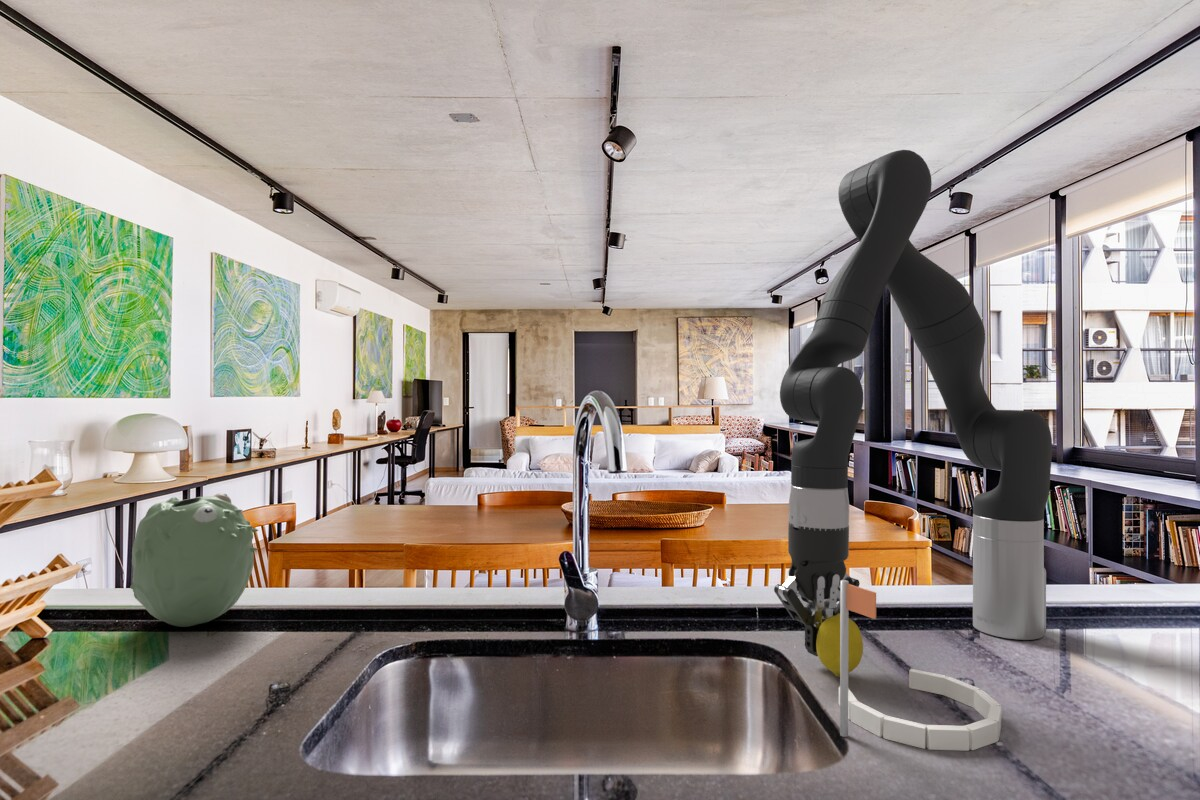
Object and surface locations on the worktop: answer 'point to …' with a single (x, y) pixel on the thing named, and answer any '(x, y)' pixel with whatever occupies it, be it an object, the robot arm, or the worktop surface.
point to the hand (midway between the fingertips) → (816, 653)
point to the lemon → (838, 644)
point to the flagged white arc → (920, 680)
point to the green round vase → (192, 559)
